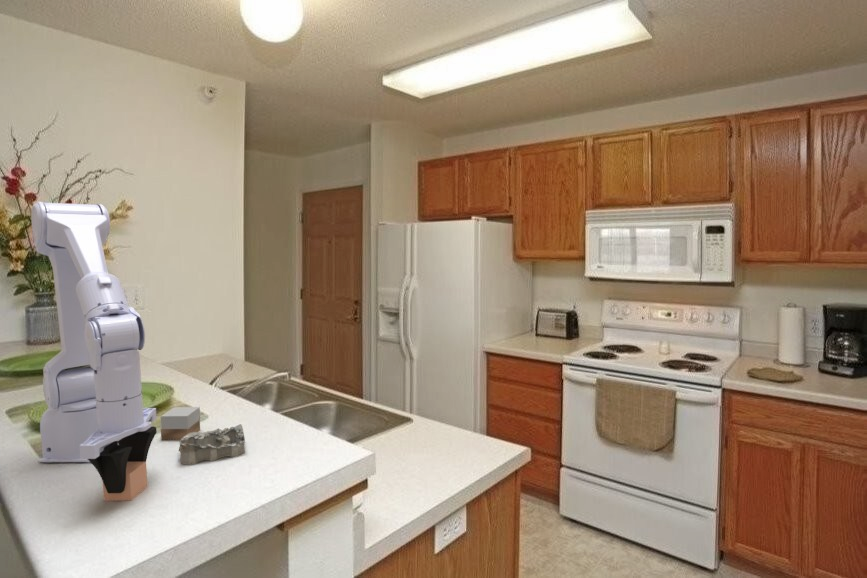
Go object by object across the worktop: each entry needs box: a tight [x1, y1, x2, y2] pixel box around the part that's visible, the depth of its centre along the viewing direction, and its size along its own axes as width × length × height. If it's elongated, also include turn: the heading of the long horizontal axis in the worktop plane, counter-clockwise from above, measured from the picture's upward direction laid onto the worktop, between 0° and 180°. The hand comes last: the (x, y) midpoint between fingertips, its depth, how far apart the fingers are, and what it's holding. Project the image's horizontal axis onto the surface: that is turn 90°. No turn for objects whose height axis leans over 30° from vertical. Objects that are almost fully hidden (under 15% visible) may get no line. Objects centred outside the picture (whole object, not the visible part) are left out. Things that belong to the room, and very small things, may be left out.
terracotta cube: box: [102, 461, 148, 501], centre depth 73 cm, size 4×4×4 cm
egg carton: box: [178, 423, 246, 466], centre depth 87 cm, size 11×8×4 cm
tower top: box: [160, 406, 201, 430], centre depth 95 cm, size 5×5×2 cm
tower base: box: [160, 419, 201, 441], centre depth 95 cm, size 5×5×2 cm
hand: (125, 484), depth 73 cm, fingers closed on terracotta cube, 4 cm apart
